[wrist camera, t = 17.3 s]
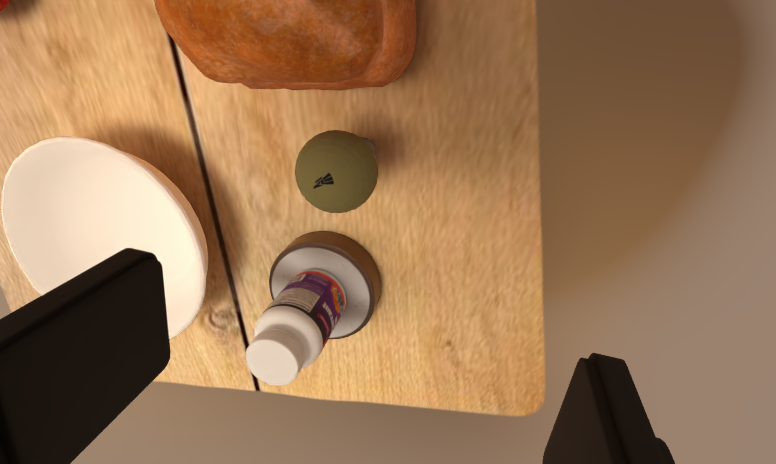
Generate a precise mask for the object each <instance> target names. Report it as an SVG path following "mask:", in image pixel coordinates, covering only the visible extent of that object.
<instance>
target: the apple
mask: <svg viewBox="0 0 776 464" xmlns="http://www.w3.org/2000/svg"><path fill="white" fill-rule="evenodd" d="M9 2H10V0H0V11H2V10H3V9H4V8H5V7H6V6H7V4H8V3H9Z"/></svg>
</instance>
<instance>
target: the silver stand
mask: <svg viewBox="0 0 776 464" xmlns="http://www.w3.org/2000/svg"><path fill="white" fill-rule="evenodd" d="M307 269H319V270H323V271H326V272H328V273H330V274H331V275H333V276H334V277H335V278H336V279H337V280H338V281H339V282H340V283H341V285H342V286H343V288H344V291H345V294H346V305H345V309H344V311H343V313H342V315H341V317H340V319H339V321H338V322H337V324H336V326H335V328H334V330H333V331H332V333H331V335H330V337H329V339H340V338H345V337H348V336H351V335H353V334H355V333H356V332H358V331H359V330H361V329H362V328H363V327H364V326H365V325H366V324H367V323H368V321H369V319H370V318H371V316H372V314H373V311H374V309H375V307H376V305H377V302H378V300H379V297H380V292H381V280H380V275H379V272H378V269H377V266H376V264H375V262H374V261H373V259H372V258H371V256H370V255H369V254H368V253H367V251H366V250H365V249H364V248H363V247H361V246H360V245H359V244H358V243H356V242H355V241H353V240H352V239H350V238H348V237H346V236H343V235H341V234H337V233H333V232H325V231H319V232H312V233H308V234H305V235H303V236H300V237H299V238H297V239H296V240H294V241H293V242H292V243H291V244H290V245H289V246H288V247H287V248H286V249H285V250H284V251H283V252H282V253H281V254H280V255H279V256H278V257H277V259H276V260H275V262H274V264H273V266H272V268H271V272H270V279H269V285H270V292H271V296H272V299H273V301H274V299H275V298H276V297H277V296H278V295H279V293H280V292H281V291H282V290H283V289H284V288H285V286H286V285H287V284H288V283H289V282H290V280H291V279H292V278H293V277H294V276H295V275H297V274H298V273H299V272H301V271H304V270H307Z"/></svg>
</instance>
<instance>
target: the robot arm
mask: <svg viewBox="0 0 776 464" xmlns="http://www.w3.org/2000/svg"><path fill="white" fill-rule="evenodd" d="M169 359H170V343H169V333H168V322H167V311H166V300H165V290H164V279H163V268H162V264H161V263H160V262H159V261H158V260H157V257H156V256H155V254H153V253H151V252H146V251H142V250H138V249H133V248H125V249H123V250H121V251H119V252H118V253H116V254H114V255H112V256H111V257H109V258H107V259H105V260H104V261H102V262H100V263H98V264H97V265H95V266H93V267H91V268H90V269H88V270H86V271H84V272H82V273H81V274H79V275H77V276H75V277H74V278H72V279H70V280H68V281H67V282H65V283H63V284H61V285H60V286H58V287H56V288H54V289H53V290H51V291H49V292H47V293H46V294H44V295H42V296H40V297H39V298H37V299H35V300H33V301H32V302H30V303H28V304H26V305H25V306H23V307H21V308H19V309H18V310H16V311H14V312H12V313H11V314H9V315H7V316H5V317H4V318H2V319H0V464H70V463H71V462H72V461H73V460H74V459H75V458H76V457H77V456H78V455H79V454H80V453H81V452H82V451H83V450H84V449H85V448H86V447H87V446H88V445H89V444H90V443H91V442H92V441H93V440H94V439H95V438H96V437H97V436H98V435H99V434H100V433H101V432H102V431H103V430H104V429H105V428H106V427H107V426H108V425H109V424H110V423H111V422H112V421H113V420H114V419H115V418H116V417H117V416H118V415H119V414H120V413H121V412H122V411H123V410H124V409H125V408H126V407H127V406H128V405H129V404H130V403H131V402H132V401H133V400H134V399H135V398H136V397H137V396H138V395H139V394H140V393H141V392H142V391H143V390H144V389H145V388H146V387H147V386H148V385H149V384H150V383H151V382H152V381H153V380H154V379H155V378H156V377H157V376H158V375H159V374H160V373H161V372H162V371H163V370H164V369H165V367H166V366H167V364H168V362H169ZM543 464H675V462H674V460H673V458H672V455H671V453H670V450H669V449H668V447H667V445H666V443H665V442H664V441H662V440H661V439H660V438H656V437H655V435H654V432H653V430H652V427H651V425H650V422H649V419H648V417H647V414H646V412H645V410H644V407H643V405H642V402H641V400H640V397H639V395H638V392H637V390H636V387H635V385H634V382H633V380H632V377H631V375H630V372H629V370H628V367H627V365H626V363H625V361H624V360H622V359H618V358H614V357H609V356H605V355H601V354H596V353H592V354H591V355H590V356H589V358H588V359H586V358H580V359H579V361H578V363H577V366H576V368H575V371H574V374H573V376H572V379H571V382H570V384H569V387H568V390H567V392H566V395H565V398H564V401H563V403H562V406H561V409H560V411H559V414H558V417H557V419H556V422H555V424H554V427H553V430H552V433H551V435H550V438H549V441H548V443H547V446H546V449H545V452H544V456H543Z"/></svg>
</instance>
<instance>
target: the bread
mask: <svg viewBox="0 0 776 464" xmlns="http://www.w3.org/2000/svg"><path fill="white" fill-rule="evenodd" d="M155 6H156V9H157V12H158V15H159V17H160V20H161V22H162V25H163V27H164V28H165V30H166V31H167V32H168V33H169V35H170V36H171V37H172V38H173V40H174V41H175V42H176V43H177V45H178V46H179V47H180V49H181V50H182V51H183V53H184V54H185V55H186V56H187V57H188V58H189V59H190V61H191V62H192V63H193V64H194V65H195V66H196V67H197V69H198V70H199V71H200V72H201V73H202V74H203V75H204V76H205V77H208V78H210V79H212V80H214V81H216V82H223V83H242V84H243V85H245V86H247V87H249V88H250V89H281V88H286V89H290V90H307V89H321V90H346V89H353V88H361V87H383V86H385V85H387V84H389V83H391V82H392V81H394V80H396V79H398V78H399V76H400V75H401V74H402V72H403V71H404V70H405V68H406V67H407V66H408V64H409V63H410V61H411V60H412V58H413V54H414V49H415V44H416V0H155Z"/></svg>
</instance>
